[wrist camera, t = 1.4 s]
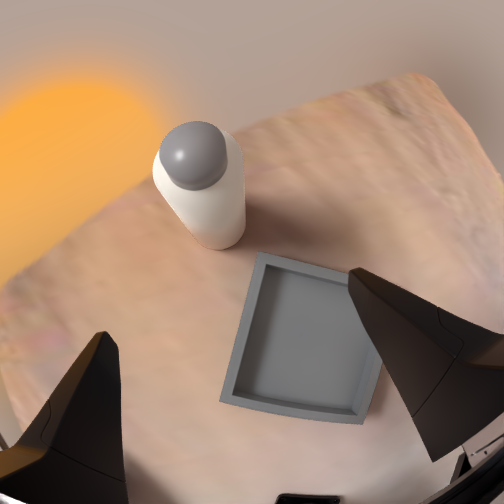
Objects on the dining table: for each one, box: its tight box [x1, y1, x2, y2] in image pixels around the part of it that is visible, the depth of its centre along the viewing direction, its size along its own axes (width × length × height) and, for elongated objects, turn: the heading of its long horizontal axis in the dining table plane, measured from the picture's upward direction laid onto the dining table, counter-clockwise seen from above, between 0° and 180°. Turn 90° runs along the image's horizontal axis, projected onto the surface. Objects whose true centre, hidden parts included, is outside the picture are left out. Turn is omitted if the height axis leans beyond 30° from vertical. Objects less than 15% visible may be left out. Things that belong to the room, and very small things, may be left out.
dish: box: [219, 251, 383, 425], centre depth 21 cm, size 12×12×2 cm
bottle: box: [153, 121, 246, 250], centre depth 18 cm, size 5×5×12 cm
